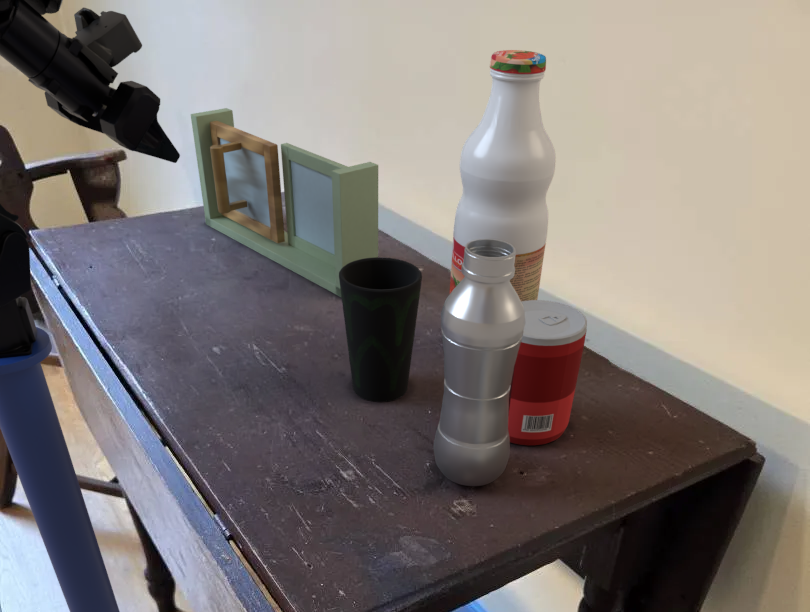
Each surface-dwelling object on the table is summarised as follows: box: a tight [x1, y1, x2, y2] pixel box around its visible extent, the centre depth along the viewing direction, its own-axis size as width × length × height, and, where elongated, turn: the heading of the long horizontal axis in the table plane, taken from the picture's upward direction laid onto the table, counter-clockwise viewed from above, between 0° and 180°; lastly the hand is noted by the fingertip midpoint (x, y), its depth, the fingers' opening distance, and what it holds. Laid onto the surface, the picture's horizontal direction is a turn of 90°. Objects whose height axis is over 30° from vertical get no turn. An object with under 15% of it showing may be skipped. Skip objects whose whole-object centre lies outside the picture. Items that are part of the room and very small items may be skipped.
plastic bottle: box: [432, 239, 526, 487], centre depth 62 cm, size 6×7×20 cm
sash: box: [210, 121, 285, 243], centre depth 103 cm, size 14×5×12 cm, turn 42°
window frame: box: [190, 107, 379, 299], centre depth 100 cm, size 32×6×14 cm, turn 42°
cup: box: [339, 256, 423, 403], centre depth 76 cm, size 8×8×12 cm
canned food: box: [508, 299, 588, 446], centre depth 71 cm, size 8×8×11 cm
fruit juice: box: [448, 49, 557, 301], centre depth 78 cm, size 9×9×28 cm
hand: (158, 150), depth 94 cm, fingers open, 9 cm apart
